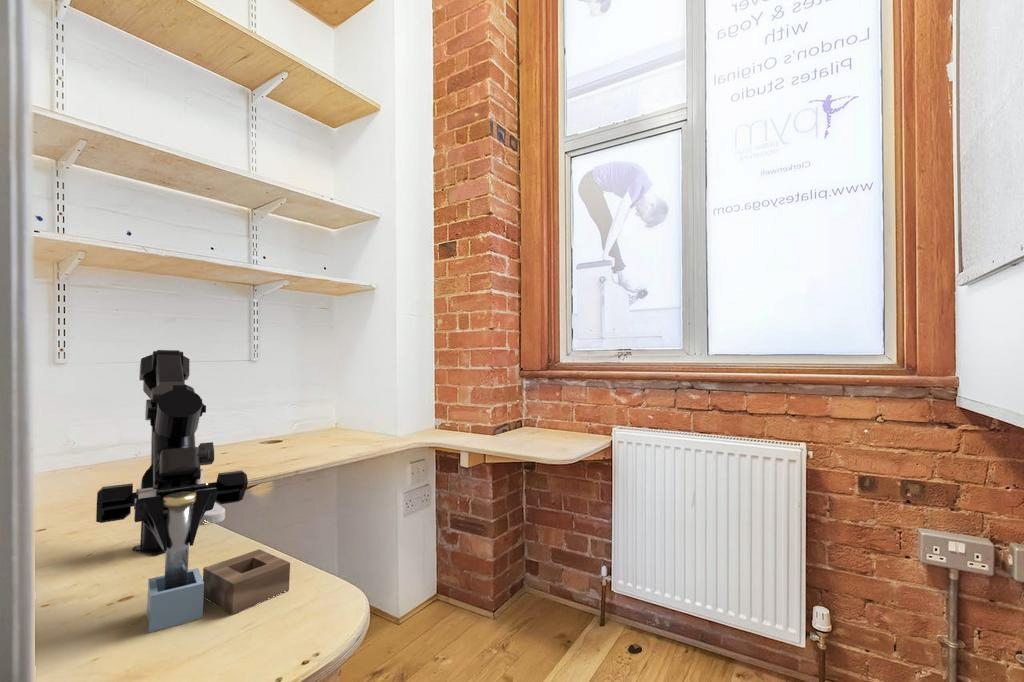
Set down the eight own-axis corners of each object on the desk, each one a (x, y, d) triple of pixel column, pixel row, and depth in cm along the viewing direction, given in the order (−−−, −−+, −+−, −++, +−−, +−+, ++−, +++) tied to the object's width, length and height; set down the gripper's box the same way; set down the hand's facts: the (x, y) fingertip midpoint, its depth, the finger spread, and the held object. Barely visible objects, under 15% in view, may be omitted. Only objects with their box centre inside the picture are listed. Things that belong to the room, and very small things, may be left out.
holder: (146, 613, 71) (148, 578, 71) (196, 600, 75) (198, 567, 75) (149, 633, 66) (150, 596, 66) (202, 618, 70) (204, 583, 70)
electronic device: (204, 483, 105) (182, 469, 115) (201, 528, 105) (179, 510, 115) (231, 479, 109) (207, 466, 119) (228, 522, 109) (204, 505, 119)
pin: (154, 591, 70) (158, 496, 70) (184, 581, 73) (189, 490, 74) (165, 600, 68) (170, 501, 68) (196, 589, 71) (201, 495, 71)
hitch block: (202, 596, 76) (203, 567, 76) (258, 575, 83) (259, 549, 83) (232, 614, 71) (233, 584, 71) (289, 590, 79) (290, 562, 79)
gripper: (100, 430, 68) (93, 533, 59) (248, 421, 80) (260, 506, 71) (99, 474, 74) (92, 573, 65) (236, 459, 86) (247, 542, 77)
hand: (178, 546), depth 70 cm, fingers closed on pin, 3 cm apart
